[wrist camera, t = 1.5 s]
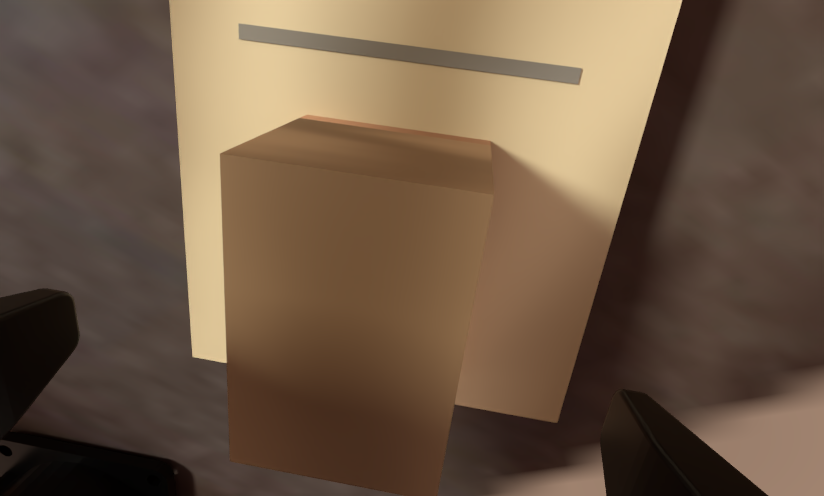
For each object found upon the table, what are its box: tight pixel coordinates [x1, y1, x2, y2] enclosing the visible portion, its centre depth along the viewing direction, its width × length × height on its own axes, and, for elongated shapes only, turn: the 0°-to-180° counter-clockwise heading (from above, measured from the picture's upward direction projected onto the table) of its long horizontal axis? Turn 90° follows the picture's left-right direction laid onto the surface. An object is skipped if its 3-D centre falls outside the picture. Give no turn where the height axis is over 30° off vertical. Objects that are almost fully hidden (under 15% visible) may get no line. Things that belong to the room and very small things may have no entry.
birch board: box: [169, 0, 682, 423], centre depth 11 cm, size 10×18×2 cm, turn 173°
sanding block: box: [220, 115, 494, 496], centre depth 10 cm, size 4×6×4 cm, turn 173°
